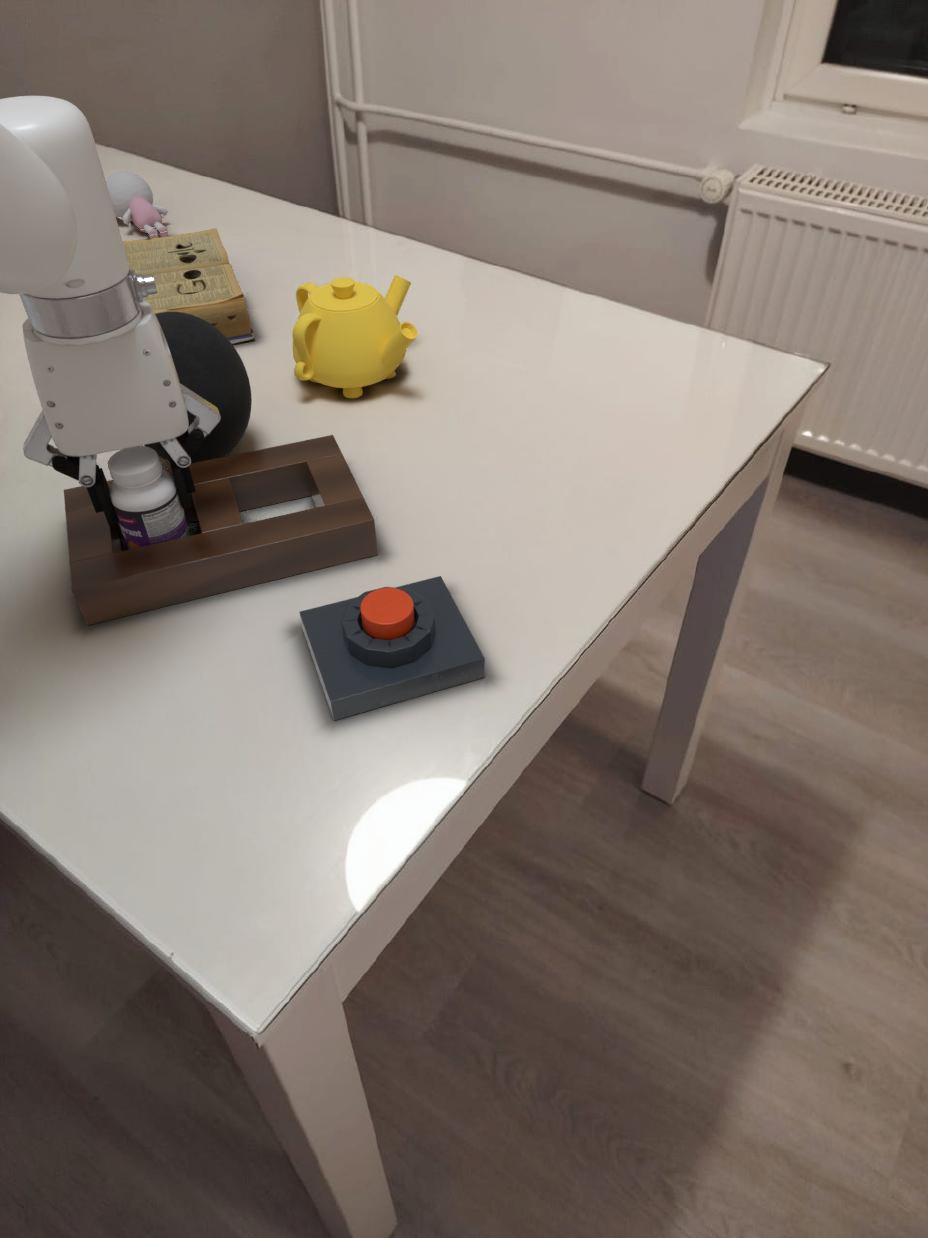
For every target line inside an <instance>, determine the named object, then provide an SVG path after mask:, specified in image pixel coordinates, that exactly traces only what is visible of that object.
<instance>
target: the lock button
mask: <svg viewBox="0 0 928 1238" xmlns="http://www.w3.org/2000/svg"><path fill="white" fill-rule="evenodd" d="M381 588H382V589H379V588H377V589H378V590H375V589H374V590H375V591H373V592H371V593H369V594H368V595H367V596H365V598H364V599H363V600H362V603H361V606H360V610H361V618H362V626H363V628H364V630H365V631H366V633H367V634H369V635H370V636H372V637H373V638H376V639H383V640H392V639H396V638H400V637H403V636H404V635H406V634H407V633H408V632H409V631H410V630H411V629H412V627H413V625H414V604H413V600H412V598H411V597H410V596H409V595H408V594H407V593H406V592H404V591H402V590H400V589H396V588H395V587H394V588H383V587H381Z"/></svg>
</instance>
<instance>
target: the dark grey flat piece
mask: <svg viewBox="0 0 928 1238" xmlns="http://www.w3.org/2000/svg"><path fill="white" fill-rule="evenodd" d="M382 588H396V589H400V590H402V591H404V592H406V593H407V594H408V595H409V596H410V597H411V598H412V600H413V604H414V625H413V627H412V629H411V630H410V631H409V632H408V633H407V634H406V635H404V636H403V637H400V638H396V639H392V640H383V639H376V638H373V637H372V636H370V635H369V634H367V633H366V631H365V630H364V628H363V626H362V618H361V610H360V606H361V603H362V600H363V599H364V598H365V596H367V595H368V594H369V593H371V592H373V591H375V590H378V589H382ZM299 617H300V623H301V629H302V632H303V636H304V638H305V642H306V644H307V646H308V650H309V653H310V655H311V658H312V662H313V664H314V667H315V670H316V673H317V675H318V679H319V681H320V685H321V687H322V688H321V689H322V691H323V693H324V696H325V700H326V702H327V705H328V708H329V711H330V715H331V717H332V720H333V721H334V722H336V721H338V720H342V719H346V718H348V717H352V716H356V715H359V714H362V713H365V712H369V711H372V710H377V709H380V708H383V707H386V706H390V705H393V704H397V703H401V702H404V701H408V700H411V699H414V698H418V697H422V696H424V695H428V694H432V693H435V692H438V691H442V690H445V689H449V688H452V687H456V686H459V685H464V684H466V683H469V682H474V681H477V680H480V679H484V678H485V677H486V676H485V674H486V673H485V672H486V671H485V670H486V669H485V667H486V658H485V656H484V654H483V652H482V650H481V649H480V647H479V645H478V643H477V641H476V639H475V637H474V635H473V634H472V631H471V630H470V628H469V625H468V624H467V622H466V621H465V618H464V617H463V615H462V612H461V611H460V609H459V607H458V606H457V604H456V601H455V600H454V598H453V596H452V594H451V592H450V591H449V588H448V587H447V584H446V583H445V581H444V579H443V578H442V575H438V576H435V577H431V578H427V579H423V580H419V581H415V582H410V583H406V584H403V585H399V586H395V587H392V586H383V587H379V588H375V589H371V590H367V591H363V592H362V593H361V594H359V596H356V597H353V598H352V597H351V598H348V599H345V600H340V601H335V602H332V603H329V604H324V605H319V606H317V607H313V608H309V609H305V610H301V611H299Z"/></svg>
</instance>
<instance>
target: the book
mask: <svg viewBox="0 0 928 1238" xmlns="http://www.w3.org/2000/svg"><path fill="white" fill-rule="evenodd" d="M122 242H123V245H124V249H125V253H126V256H127V260H128V263H129V267H130V271H131V270H135V273H136V274H141V273H142V275H149V274H153V277H154V280H155V284H156V288H157V292H158V293H156V294H150V295H147V296H148V297H144V298H142V299H143V301H146V302H148V303H149V304H150V306H151V308H152V309H153V311H154V313H155V314H157V313H161V312H183V313H187V314H191V315H194V316H196V317H199V318H201V319H203V320H205V321H207V322H208V323H210V324H211V325H213V326H214V327H216V328H217V329H218V330H219V331H220V332H221V333H222V334H224V335H225V337H226V338H227V339H228V340H229V341H230V342H231V344H232V345H234V344H238V343H242V342H247V341H251V340H253V339H254V338H255V332H254V330H253V328H252V325H251V319H250V314H249V311H248V307H247V304H246V302H247V301H246V298H245V295H244V293H243V291H242V289H241V286H240V285H239V282H238V280H237V277H236V275H235V272H234V269H233V265H231V263H230V260H229V256H228V252H227V250H226V248H225V246H224V244H223V242H222V240H221V237H220V234H219V231H218V230H217V228H211V229H205V230H201V231H195V232H188V233H181V234H175V235H168V236H167V237H160V236H159V237H158V238H153V239H150V238H143V239H135V240H122Z"/></svg>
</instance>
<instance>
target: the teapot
mask: <svg viewBox="0 0 928 1238" xmlns="http://www.w3.org/2000/svg"><path fill="white" fill-rule="evenodd" d="M411 284H412V282H410V281H409V280H408V279H405V278H404V277H401V276H400V275H396V274H394V276H393V278H392V280H391V282H390V285H389V288H388V289H387V292H386V294H385V296H383V295H382V293H381V292H380V291H379V290H378V289H377V288H376V287H374V286H372V285H371V284H368V283H366V282H363V281H362V282H361V281H355V279H354V278H352V277H348V276H339V277H335V278H334V279H332V280H331V281H330V282H329V283H326V284H325V283H324V284H323V285H321V286H319V285H318V284H316V283H314V282H305V283H302V284H301V285H299V286H298V287H297V289H296V291H295V298H296V303H297V307H298V311H299V315H298V317H297V320H296V321H295V323H294V325H293V328H292V356H293V361H294V363H295V366H294V370H293V374H294V376H295V377H296V379H298V380H300V381H310V382H312V383H317V384H321V385H324V386H328V387H332V388H339V389H342V395H343V396H344V397H345V398H347V399H357V398H360V397H361V396H362V395H363V394H364V391H363V387H367V386H371V385H375V384H377V383H380V382H382V381H384V380H390V379H392V378H394V377H396V375H397V373H396V370H397V368H398V367H399V366H400V365H401V364H402V362H403V360H404V359H405V356H406V353H407V348H408V347H409V346H410V345H411V344H412V343H413V342H414V341H415V339H416V338H417V337H418V334H419V333H418V329H417V327H416V326H415V325H414V324H413V323H411V322H410V321H403V322H400V320H399V317H398V316H399V313H400V311H401V309H402V306H403V303H404V301H405V299H406V296H407V294H408V292H409V290H410V287H411Z"/></svg>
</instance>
